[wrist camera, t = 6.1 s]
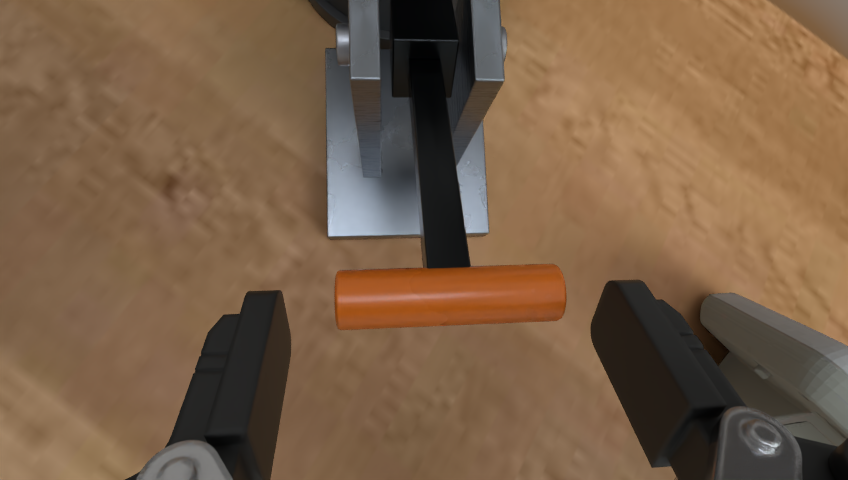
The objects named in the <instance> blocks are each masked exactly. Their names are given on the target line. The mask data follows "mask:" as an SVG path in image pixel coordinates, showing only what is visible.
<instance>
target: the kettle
mask: <svg viewBox="0 0 848 480" xmlns="http://www.w3.org/2000/svg"><path fill="white" fill-rule="evenodd" d="M309 1H310V3H311V4H312V6H313V7H314V8H315V10H316V11H317V12H318V13H319V14H320V15H321V17H323V18H324V19H325V20H326V21H327V22H328V23H329V24H330V25H331V26H333V27H334V28H336V25H337V24H338V23H343V24H349V19H348V0H309ZM457 1H458V0H452V3H453V9H454V13H455V9H456V5H457ZM379 9H380V47H381V49H390V0H379Z"/></svg>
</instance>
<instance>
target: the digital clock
mask: <svg viewBox="0 0 848 480" xmlns="http://www.w3.org/2000/svg"><path fill="white" fill-rule="evenodd" d="M700 321H701V324H702V325H703V326H704V327H705V328H706V329H707V330H708V331H709V332H711V333H712V334H713V335H714V336H715V337H716V338H717V339H718V340H719V341H720V342H721V343H722V344H723V345H724V346H725V347H726V348H727V349H728V350H729V351H730V352H729V353H728V354H727V355H726V357H725V358H724V359H723V361H722V362H721V363H720V365H719V366H718V367H719V368H720V370H721V371H722V372H723V374H724V375H725V377H726V378H727V379H728V381H729V382H730V384H731V385H732V386H733V388H734V389H735V391H736V392H737V393H738V395H739V396H740V398H741V399H742V400H743V402H744V403H745V404H746V406H747V407H750V408H754V409H757V410H760V411H762V412H764V413H766V414H768V415H770V416H772V417H773V418H775V419H776V420H778V421H779V422H780V423H781V424H783V425H784V426H785V427H786V428H787V429H788V430H789V431H790V433H791V434H792V435H793V436H796V437H800V438H804V439H808V440H813V441H817V442H821V443H825V444H829V445H834V446H839V445H840V444H842V443H843V442H844V441H845V440H846V439H847V438H848V346H846V345H844V344H843V343H841V342H839V341H837V340H834V339H832V338H830V337H828V336H826V335H824V334H822V333H820V332H818V331H816V330H813V329H811V328H809V327H807V326H805V325H803V324H801V323H798V322H796V321H794V320H792V319H790V318H788V317H785V316H783V315H781V314H779V313H777V312H775V311H773V310H770V309H768V308H766V307H764V306H762V305H760V304H757V303H755V302H753V301H751V300H749V299H747V298H745V297H742V296H740V295H738V294H735V293H720V294H710V295H709V296H707V297H706V299H705V300H704V301H703V303H702V305H701V311H700Z"/></svg>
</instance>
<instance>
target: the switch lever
mask: <svg viewBox="0 0 848 480" xmlns="http://www.w3.org/2000/svg"><path fill="white" fill-rule="evenodd" d="M458 48H459V36H458V31H457V25H456V20H455V14H454V9H453V3H452V0H390V69H391V88H392V97H393V98H409V102H410V114H411V127H412V139H413V151H414V163H415V176H416V188H417V200H418V212H419V224H420V237H421V249H422V261H423V268H398V269H365V270H340V271H338V272H337V274H336V278H335V318H336V325H337V327H338V329H340V330H355V329H379V328H402V327H426V326H449V325H472V324H496V323H519V322H543V321H557V320H559V319H561V318H562V316H563V314H564V312H565V307H566V286H565V281H564V277H563V274H562V272H561V270H560V268H559V267H558V266H557V265H554V264H529V265H496V266H471V265H470V258H469V251H468V244H467V237H466V230H465V223H464V216H463V209H462V202H461V195H460V188H459V181H458V175H457V168H456V161H455V154H454V147H453V140H452V133H451V126H450V119H449V112H448V105H447V98H451V96H452V89H453V82H454V75H455V69H456V62H457V55H458Z"/></svg>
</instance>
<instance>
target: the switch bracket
mask: <svg viewBox="0 0 848 480" xmlns="http://www.w3.org/2000/svg"><path fill="white" fill-rule="evenodd" d="M454 14H455V20H456V25H457V31H458V36H459V48H458V55H457V62H456V69H455V75H454V82H453V89H452V96H451V98H447V105H448V112H449V119H450V126H451V133H452V140H453V147H454V154H455V161H456V168H457V175H458V181H459V188H460V195H461V202H462V209H463V216H464V223H465V230H466V237H468V236H485V235H487V234H488V233H489V220H488V202H487V184H486V167H485V149H484V131H483V118H484V117H485V115H486V113H487V111H488V109H489V108H490V106H491V104H492V102H493V100H494V99H495V97H496V95H497V93H498V91H499V90H500V88H501V86H502V84H503V82H504V80H505V77H504V61H505V57H506V51H507V34H506V30H505V28H504V27H501V14H500V0H458V1H457V5H456V9H455V13H454ZM348 19H349V24H343V23H338V24H337V25H336V48H326V49H325V61H326V157H327V236H328V238H329V239H330V240H345V239H386V238H421V237H420V224H419V212H418V200H417V188H416V176H415V163H414V151H413V139H412V127H411V114H410V102H409V98H393V97H392V88H391V69H390V49H381V47H380V9H379V0H348Z"/></svg>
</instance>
